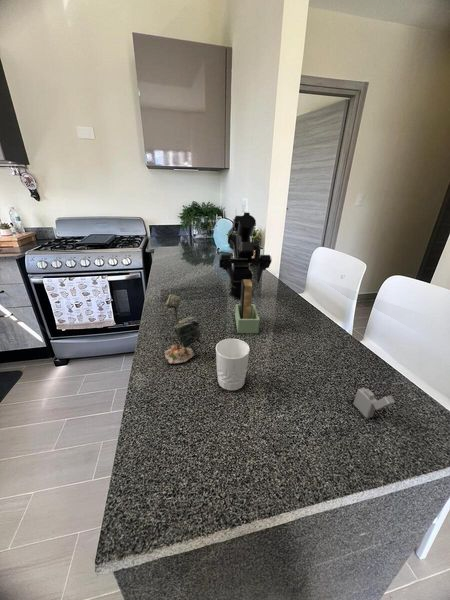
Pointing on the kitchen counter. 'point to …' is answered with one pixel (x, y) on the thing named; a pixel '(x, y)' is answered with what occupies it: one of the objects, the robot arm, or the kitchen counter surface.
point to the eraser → (245, 299)
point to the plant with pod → (182, 335)
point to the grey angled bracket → (370, 402)
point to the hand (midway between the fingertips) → (245, 282)
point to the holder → (247, 321)
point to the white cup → (232, 363)
